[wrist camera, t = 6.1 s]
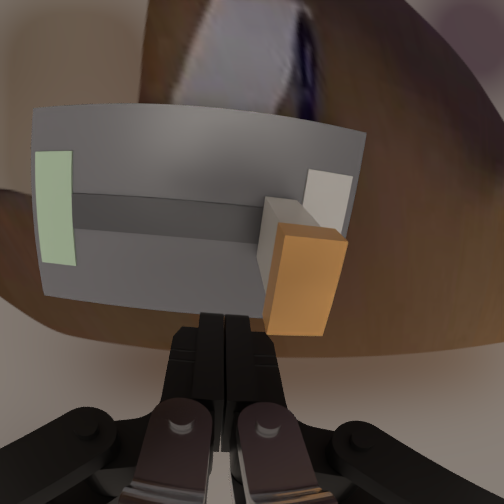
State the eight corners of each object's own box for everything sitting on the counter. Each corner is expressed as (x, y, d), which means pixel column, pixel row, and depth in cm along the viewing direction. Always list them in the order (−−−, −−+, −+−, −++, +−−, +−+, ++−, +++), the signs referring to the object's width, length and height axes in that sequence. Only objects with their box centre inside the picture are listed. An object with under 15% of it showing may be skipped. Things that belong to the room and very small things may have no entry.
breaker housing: (339, 129, 23) (367, 133, 18) (308, 288, 28) (324, 322, 24) (65, 108, 20) (31, 108, 15) (67, 267, 26) (43, 296, 21)
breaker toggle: (302, 195, 19) (348, 241, 12) (290, 263, 21) (322, 336, 14) (261, 190, 19) (285, 235, 12) (251, 260, 21) (266, 334, 14)
